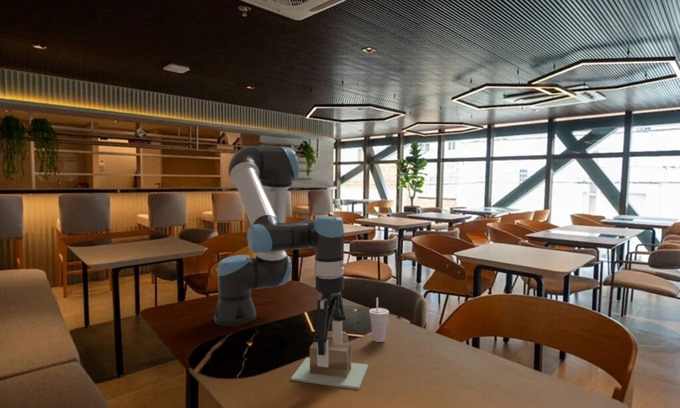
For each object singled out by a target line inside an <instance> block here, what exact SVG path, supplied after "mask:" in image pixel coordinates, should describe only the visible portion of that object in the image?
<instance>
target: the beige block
mask: <svg viewBox="0 0 680 408" xmlns="http://www.w3.org/2000/svg"><path fill="white" fill-rule="evenodd" d="M309 358H310V373H311V374H319V375H327V376H335V377H343V378H347V376H348V374H349V372H350V370H351V363H352V343H350V342H349V343H341V342H331V341H328V367H320V366H317V342H314V341H313V342H312V344H311V345H310V346H309Z"/></svg>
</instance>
